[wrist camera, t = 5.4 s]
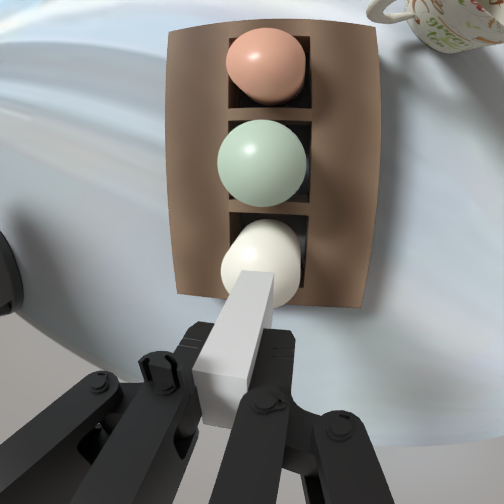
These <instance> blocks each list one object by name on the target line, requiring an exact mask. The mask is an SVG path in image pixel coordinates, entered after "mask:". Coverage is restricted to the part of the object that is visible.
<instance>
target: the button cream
mask: <svg viewBox="0 0 504 504" xmlns="http://www.w3.org/2000/svg"><path fill="white" fill-rule="evenodd" d="M300 264H301V247H300V242H299V239H298V237H297V235H296V234H295V232H294V231H293V230H292V229H291V228H290V227H289V226H288V225H286V224H285V223H283V222H281V221H278V220H275V219H260V220H256V221H254V222H252V223H250V224H248V225H247V226H246V227H245V228H244V229H243V230H242V232H241V233H240V234H239V236H238V237H237V239H236V240H235V242H234V243H233V244H232V246H231V247H230V249H229V250H228V252H227V253H226V255H225V256H224V258H223V261H222V265H221V278H222V282H223V284H224V287H225V289H226V290H227V292H228V293H229V294H230V293H231V291H232V289H233V287H234V285H235V283H236V281H237V279H238V277H239V275H240V273H241V271H242V270H247V271H260V272H274V290H273V309H274V308H277V307H280V306H282V305H284V304H285V303H287V302H288V301H289V300H290V299H291V298H292V297H293V296H294V294H295V293H296V291H297V289H298V286H299V283H300Z"/></svg>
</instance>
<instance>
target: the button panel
mask: <svg viewBox="0 0 504 504" xmlns="http://www.w3.org/2000/svg"><path fill="white" fill-rule="evenodd" d="M259 28H274V29H279V30H282V31H284V32H286V33H288V34H290V35H291V36H293V37H294V38H295V39H296V40H297V41H298V42H299V43H300V45H301V46H302V48H303V50H304V53H309V73H310V109H306V108H240V88H239V87H238V86H237V85H236V84H235V83H234V82H233V81H232V79H231V78H230V76H229V74H228V72H227V68H226V57H227V53H228V51H229V48H230V47H231V45H232V44H233V42H234V41H235V40H236V39H237V38H239V37H240V36H241V35H243V34H244V33H246V32H249V31H251V30H254V29H259ZM253 120H270V121H274V122H277V123H280V124H282V125H301V126H310V155H309V187H308V194H293V195H292V196H291V197H290V198H289V199H287V200H286V201H284V202H282V203H280V204H278V205H274V206H269V207H255V206H251V205H248V204H245V203H243V202H241V201H239V200H237V199H236V198H234V197H233V196H232V195H231V194H230V193H229V192H228V191H227V189H226V188H225V187H224V185H223V183H222V181H221V179H220V176H219V172H218V165H217V161H218V153H219V150H220V147H221V145H222V143H223V141H224V139H225V138H226V136H227V135H228V134H229V133H230V132H231V131H232V130H233V129H235V128H236V127H238V126H239V125H241V124H243V123H246V122H248V121H253ZM165 145H166V175H167V194H168V209H169V222H170V233H171V244H172V254H173V263H174V272H175V280H176V288H177V294H184V295H193V296H202V297H211V298H220V299H228V297H229V295H230V294H229V293H228V292H227V290H226V289H225V287H224V284H223V282H222V278H221V265H222V261H223V258H224V256H225V255H226V253H227V252H228V250H229V249H230V247H231V246H232V244H233V243H234V242H235V240H236V239H237V237H238V236H239V234H240V212H247V213H271V214H291V215H307V227H306V243H305V257H304V268H300V283H299V286H298V289H297V291H296V293H295V294H294V296H293V297H292V298H291V299H290V300H289V301H288V302H287V303H285V304H291V305H306V306H324V307H345V308H361V303H362V299H363V294H364V289H365V283H366V278H367V272H368V267H369V260H370V254H371V248H372V241H373V233H374V225H375V217H376V208H377V198H378V186H379V172H380V152H381V88H380V70H379V57H378V46H377V37H376V29H375V27H372V26H366V25H360V24H353V23H345V22H337V21H326V20H311V19H258V20H243V21H232V22H223V23H215V24H208V25H202V26H196V27H190V28H185V29H180V30H175V31H171V32H169V35H168V48H167V65H166V94H165Z"/></svg>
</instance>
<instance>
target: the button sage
mask: <svg viewBox="0 0 504 504" xmlns="http://www.w3.org/2000/svg"><path fill="white" fill-rule="evenodd" d="M217 165H218V172H219V176H220V179H221V181H222V183H223V185H224V187H225V188H226V189H227V191H228V192H229V193H230V194H231V195H232V196H233V197H234V198H236V199H237V200H239V201H241V202H243V203H245V204H248V205H251V206H255V207H269V206H274V205H278V204H280V203H282V202H284V201H286V200H287V199H289V198H290V197H291V196H292V195H293V194H294V193H295V192H296V191H297V190H298V189H299V187H300V185H301V184H302V182H303V179H304V177H305V172H306V155H305V151H304V148H303V146H302V144H301V142H300V140H299V139H298V137H297V136H296V135H295V134H294V133H293V132H292V131H291V130H290V129H288V128H287V127H285V126H284V125H282V124H280V123H277V122H274V121H270V120H253V121H248V122H246V123H243V124H241V125H239V126H238V127H236V128H235V129H233V130H232V131H231V132H230V133H229V134H228V135H227V136H226V138H225V139H224V141H223V143H222V145H221V147H220V150H219V153H218V161H217Z"/></svg>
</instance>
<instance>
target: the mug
mask: <svg viewBox="0 0 504 504" xmlns="http://www.w3.org/2000/svg"><path fill="white" fill-rule="evenodd" d="M394 1H396V0H372V1H371V3H370V4H369V5H368V7H367V10H366V14H367V17H368V19H370V20H371V21H373V22H376V23H382V24H393V23H397V22H401V21H404V20H407V22H408V24H409V26H410V27H411V29H412V30H413V32H414V33H415V34H416V35H417V36H418V37H419V38H420V39H421V40H422V41H423V42H424V43H425V44H427V45H428V46H430V47H431V48H433V49H435V50H437V51H440V52H443V53H449V54H450V53H458V52H462V51H466V50H471V49H475V48H480V47H485V46H491V45H496V44H502V43H504V0H407V2H406V5H405V12H404V13H395V14H383V11H384V9H385V8H386V7H387V6H388V5H390V4H391V3H392V2H394Z"/></svg>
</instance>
